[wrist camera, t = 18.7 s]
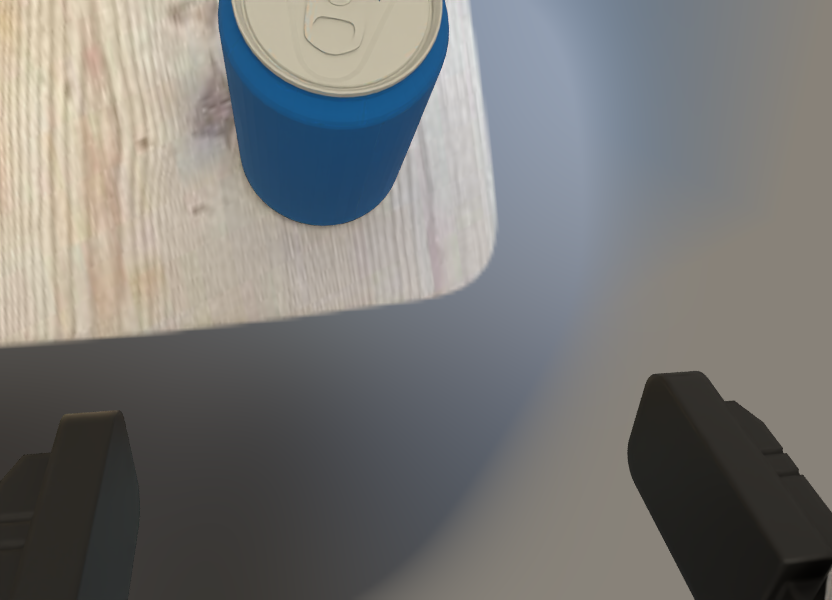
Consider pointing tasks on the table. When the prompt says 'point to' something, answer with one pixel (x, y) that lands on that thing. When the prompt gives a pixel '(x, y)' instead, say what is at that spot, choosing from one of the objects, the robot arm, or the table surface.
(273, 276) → the table surface
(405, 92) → the beverage can
